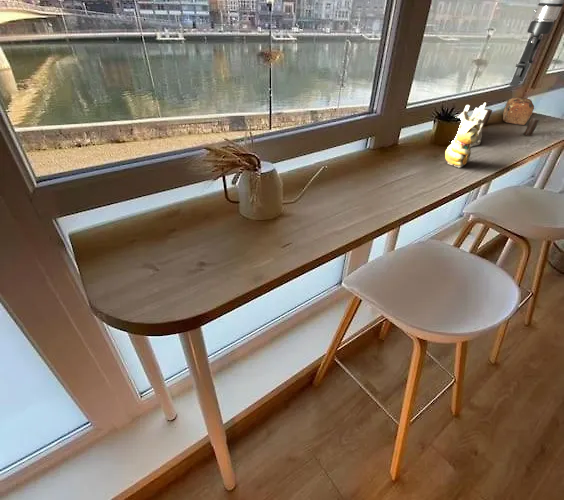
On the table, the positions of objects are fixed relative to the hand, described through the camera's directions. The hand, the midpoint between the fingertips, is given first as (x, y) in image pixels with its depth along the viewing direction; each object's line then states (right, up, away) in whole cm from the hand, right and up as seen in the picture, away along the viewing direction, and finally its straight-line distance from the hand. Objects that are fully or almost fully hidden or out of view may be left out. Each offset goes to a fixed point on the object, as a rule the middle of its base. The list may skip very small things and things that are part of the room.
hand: (516, 83), depth 134 cm
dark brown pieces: (+6, -13, +16) cm, 22 cm away
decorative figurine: (-35, -38, -17) cm, 54 cm away
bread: (+20, -3, +30) cm, 36 cm away
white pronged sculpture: (-21, -22, +4) cm, 31 cm away
